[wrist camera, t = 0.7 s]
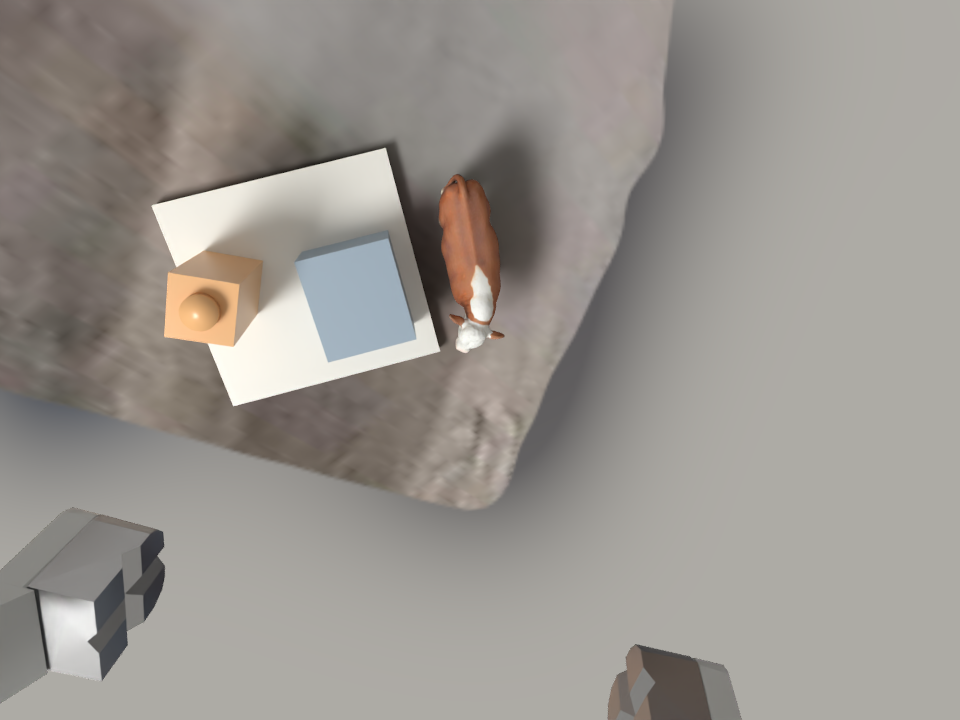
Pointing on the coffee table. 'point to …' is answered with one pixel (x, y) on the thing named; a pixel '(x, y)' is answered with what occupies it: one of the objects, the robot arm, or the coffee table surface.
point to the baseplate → (278, 242)
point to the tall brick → (212, 298)
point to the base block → (356, 296)
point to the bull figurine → (470, 259)
